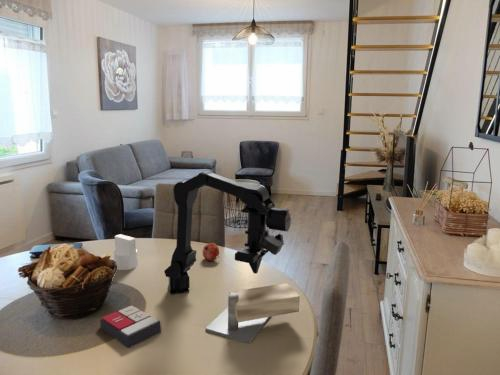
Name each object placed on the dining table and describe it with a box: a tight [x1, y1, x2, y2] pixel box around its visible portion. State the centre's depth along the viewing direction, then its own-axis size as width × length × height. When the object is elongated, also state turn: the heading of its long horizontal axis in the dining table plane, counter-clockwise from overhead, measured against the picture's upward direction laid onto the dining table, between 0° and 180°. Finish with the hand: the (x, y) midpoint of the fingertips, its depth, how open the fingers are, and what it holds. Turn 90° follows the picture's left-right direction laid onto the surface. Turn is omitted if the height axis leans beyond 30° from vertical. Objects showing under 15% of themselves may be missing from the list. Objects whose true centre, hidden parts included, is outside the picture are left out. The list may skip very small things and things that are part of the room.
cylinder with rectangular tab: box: [113, 233, 139, 271], centre depth 163 cm, size 9×9×12 cm
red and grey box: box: [99, 305, 162, 349], centre depth 120 cm, size 11×4×15 cm
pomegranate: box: [202, 242, 220, 262], centre depth 171 cm, size 7×7×10 cm
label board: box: [205, 306, 271, 344], centre depth 129 cm, size 14×26×1 cm, turn 155°
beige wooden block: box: [227, 282, 300, 330], centre depth 122 cm, size 9×20×10 cm, turn 110°
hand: (255, 273), depth 132 cm, fingers closed
